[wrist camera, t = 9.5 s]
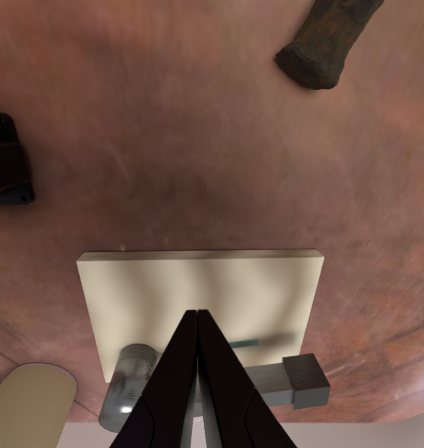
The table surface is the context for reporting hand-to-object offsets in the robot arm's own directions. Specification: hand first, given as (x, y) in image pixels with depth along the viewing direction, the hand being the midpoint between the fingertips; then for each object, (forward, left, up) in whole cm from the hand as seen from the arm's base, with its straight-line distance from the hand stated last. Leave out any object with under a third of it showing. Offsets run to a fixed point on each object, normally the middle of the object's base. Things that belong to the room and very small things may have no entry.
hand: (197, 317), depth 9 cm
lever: (+2, -15, -10) cm, 18 cm away
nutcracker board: (+1, -12, -12) cm, 17 cm away
